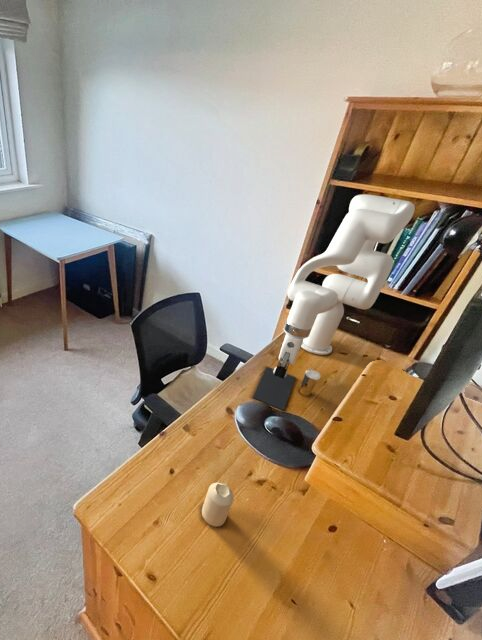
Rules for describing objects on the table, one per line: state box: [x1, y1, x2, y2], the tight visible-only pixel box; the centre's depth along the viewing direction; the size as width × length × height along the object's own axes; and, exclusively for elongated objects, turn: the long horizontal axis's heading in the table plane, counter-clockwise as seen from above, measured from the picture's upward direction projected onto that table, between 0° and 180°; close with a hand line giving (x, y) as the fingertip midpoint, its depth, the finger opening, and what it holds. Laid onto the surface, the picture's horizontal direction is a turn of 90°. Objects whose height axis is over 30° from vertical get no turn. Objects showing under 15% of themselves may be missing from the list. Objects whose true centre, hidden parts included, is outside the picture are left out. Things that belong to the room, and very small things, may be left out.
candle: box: [201, 482, 235, 528], centre depth 79 cm, size 6×6×10 cm
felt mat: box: [252, 366, 296, 412], centre depth 120 cm, size 20×10×1 cm, turn 146°
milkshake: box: [299, 363, 322, 397], centre depth 117 cm, size 4×5×10 cm
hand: (280, 372), depth 120 cm, fingers closed on rook chess piece, 4 cm apart
